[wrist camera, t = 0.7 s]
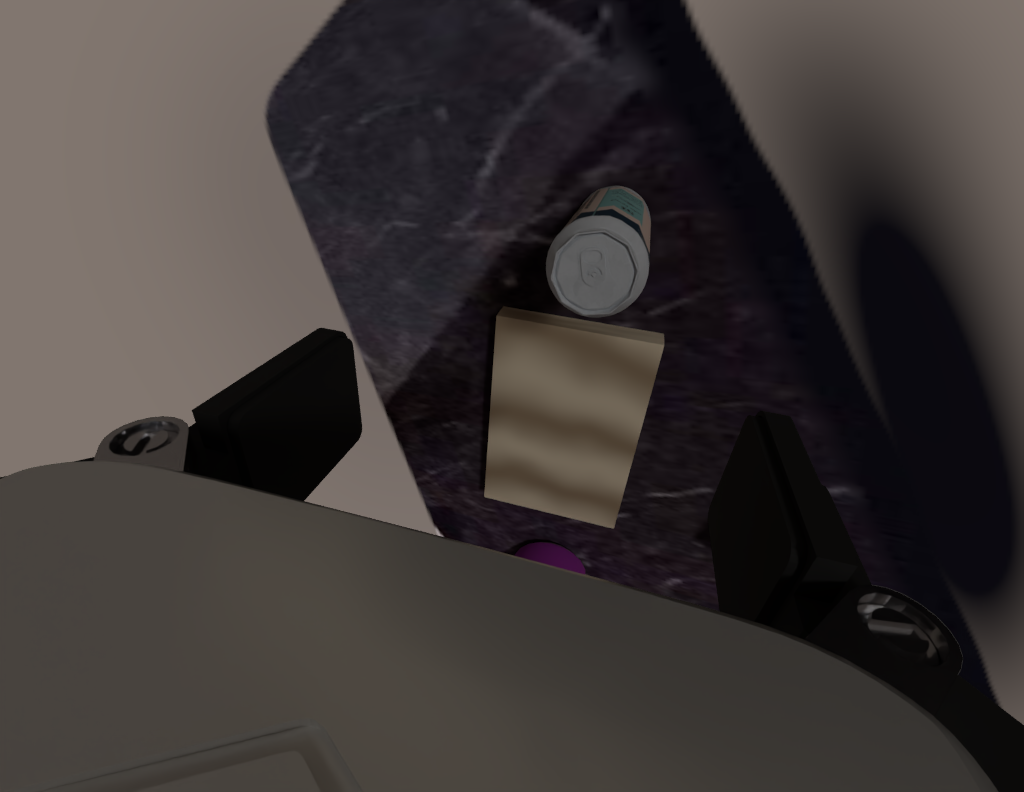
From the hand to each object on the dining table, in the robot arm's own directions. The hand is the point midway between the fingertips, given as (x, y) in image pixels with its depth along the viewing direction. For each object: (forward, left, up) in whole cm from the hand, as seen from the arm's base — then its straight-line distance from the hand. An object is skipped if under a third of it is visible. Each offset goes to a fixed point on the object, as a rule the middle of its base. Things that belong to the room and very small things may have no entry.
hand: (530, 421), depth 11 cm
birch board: (-16, +1, -24) cm, 29 cm away
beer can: (0, 0, -25) cm, 25 cm away
